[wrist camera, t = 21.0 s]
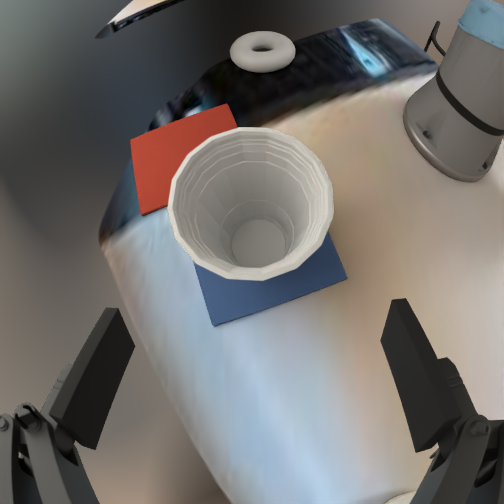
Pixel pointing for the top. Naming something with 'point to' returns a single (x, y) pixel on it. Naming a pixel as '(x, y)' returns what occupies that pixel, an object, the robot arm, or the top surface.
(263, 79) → the top surface
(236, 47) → the donut
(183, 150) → the red mat
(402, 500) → the white bowl with cork
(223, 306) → the blue mat
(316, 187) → the plastic cup
